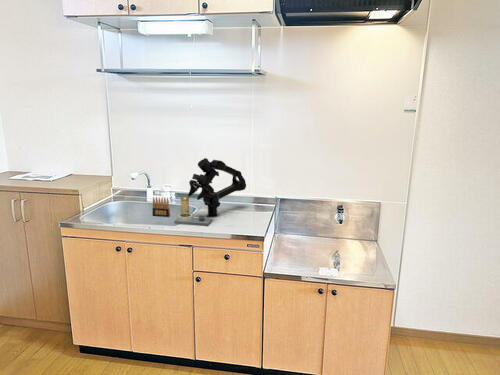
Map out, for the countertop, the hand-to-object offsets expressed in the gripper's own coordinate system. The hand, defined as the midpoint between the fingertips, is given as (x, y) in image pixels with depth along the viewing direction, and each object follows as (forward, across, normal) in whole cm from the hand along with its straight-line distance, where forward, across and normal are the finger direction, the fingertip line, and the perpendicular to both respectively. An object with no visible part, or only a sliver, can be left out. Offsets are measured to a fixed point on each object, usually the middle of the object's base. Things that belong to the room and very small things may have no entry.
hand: (193, 197), depth 217 cm
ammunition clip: (+17, -19, +2) cm, 26 cm away
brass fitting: (+12, 0, +5) cm, 13 cm away
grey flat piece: (+11, +4, +8) cm, 14 cm away
